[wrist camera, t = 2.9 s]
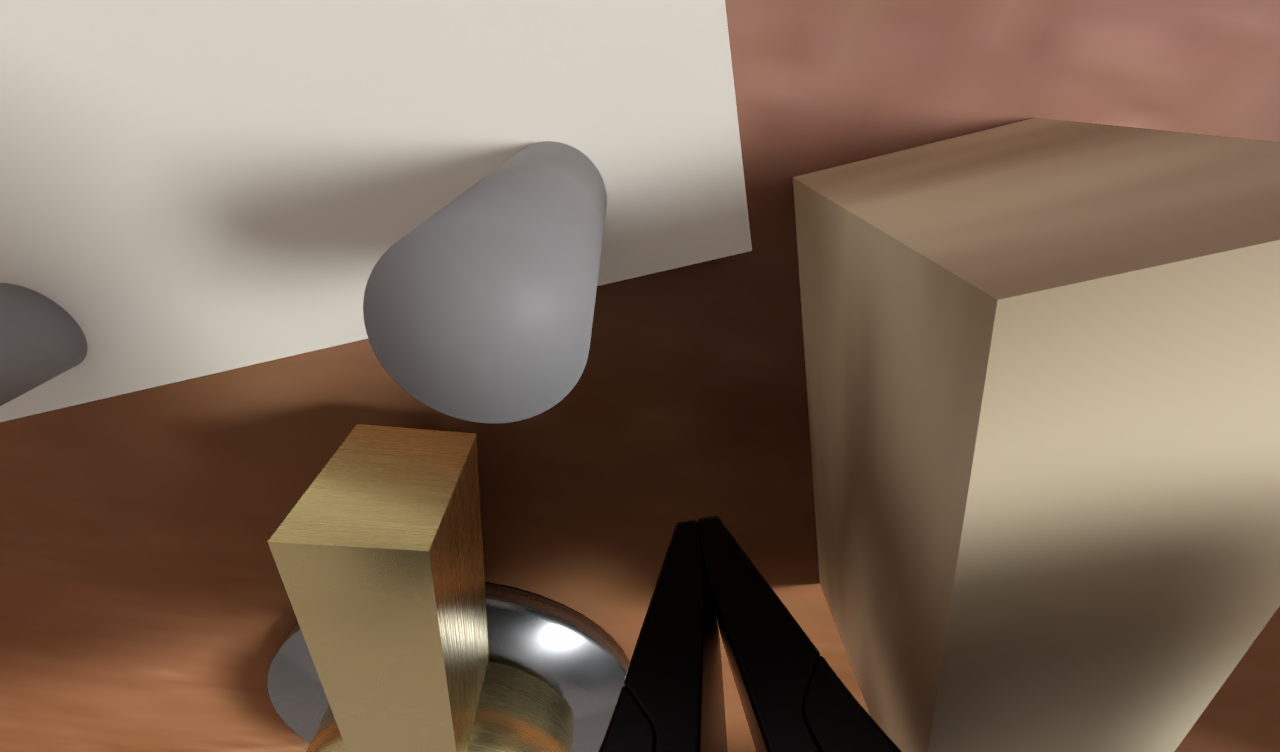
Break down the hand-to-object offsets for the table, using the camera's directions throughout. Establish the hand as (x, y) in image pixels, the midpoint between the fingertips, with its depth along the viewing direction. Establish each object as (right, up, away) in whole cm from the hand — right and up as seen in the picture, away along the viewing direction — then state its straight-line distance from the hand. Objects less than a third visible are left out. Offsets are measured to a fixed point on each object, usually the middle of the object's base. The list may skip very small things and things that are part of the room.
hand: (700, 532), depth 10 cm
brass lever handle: (-6, -4, +2) cm, 7 cm away
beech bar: (+4, +2, 0) cm, 5 cm away
